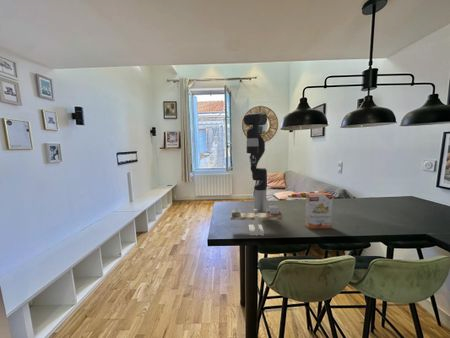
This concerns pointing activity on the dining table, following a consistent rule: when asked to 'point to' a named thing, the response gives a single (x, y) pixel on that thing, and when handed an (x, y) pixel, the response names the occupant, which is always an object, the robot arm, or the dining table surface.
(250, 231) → the pivot stand
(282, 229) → the dining table surface
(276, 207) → the block
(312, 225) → the cracker box
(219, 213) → the dining table surface
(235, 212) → the beam
